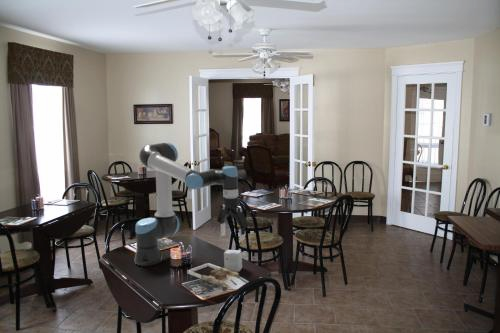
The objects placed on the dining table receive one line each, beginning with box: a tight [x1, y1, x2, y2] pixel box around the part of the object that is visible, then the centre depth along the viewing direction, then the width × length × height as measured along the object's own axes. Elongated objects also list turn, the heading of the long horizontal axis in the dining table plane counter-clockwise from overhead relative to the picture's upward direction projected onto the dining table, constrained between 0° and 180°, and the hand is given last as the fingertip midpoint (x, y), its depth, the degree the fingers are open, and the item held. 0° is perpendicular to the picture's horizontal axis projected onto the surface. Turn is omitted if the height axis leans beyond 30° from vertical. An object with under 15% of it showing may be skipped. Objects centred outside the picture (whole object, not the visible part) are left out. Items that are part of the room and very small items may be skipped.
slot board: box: [201, 267, 240, 286], centre depth 211 cm, size 12×14×3 cm
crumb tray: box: [186, 262, 222, 280], centre depth 219 cm, size 11×14×3 cm
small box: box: [223, 249, 243, 273], centre depth 221 cm, size 8×6×10 cm
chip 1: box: [210, 268, 222, 277], centre depth 215 cm, size 4×4×2 cm
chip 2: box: [215, 271, 227, 280], centre depth 211 cm, size 4×4×2 cm
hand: (232, 238), depth 220 cm, fingers open, 13 cm apart
